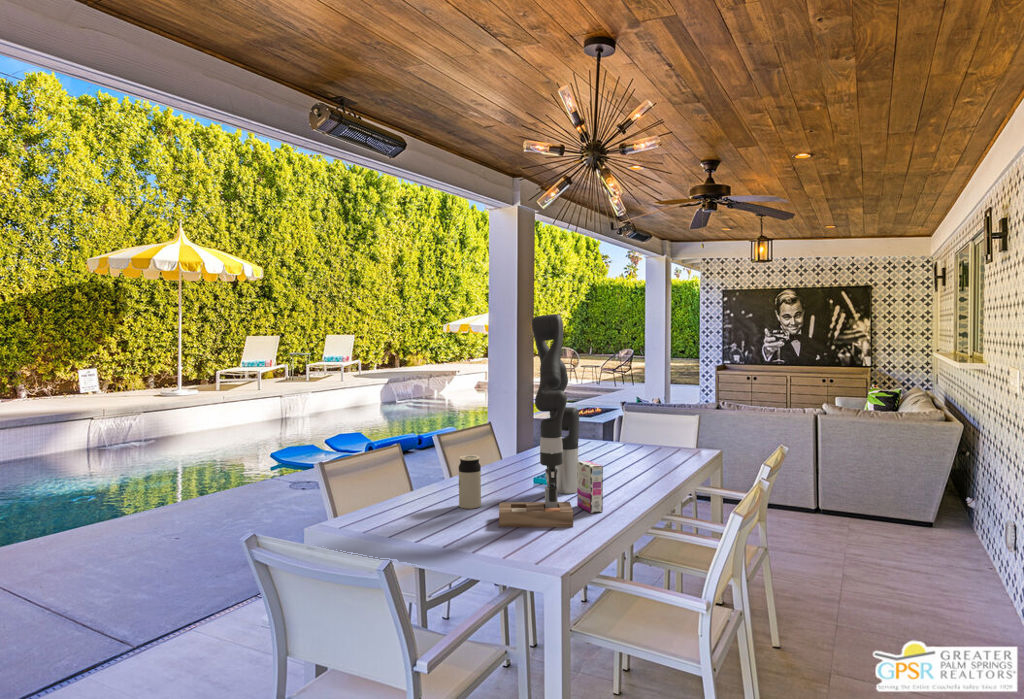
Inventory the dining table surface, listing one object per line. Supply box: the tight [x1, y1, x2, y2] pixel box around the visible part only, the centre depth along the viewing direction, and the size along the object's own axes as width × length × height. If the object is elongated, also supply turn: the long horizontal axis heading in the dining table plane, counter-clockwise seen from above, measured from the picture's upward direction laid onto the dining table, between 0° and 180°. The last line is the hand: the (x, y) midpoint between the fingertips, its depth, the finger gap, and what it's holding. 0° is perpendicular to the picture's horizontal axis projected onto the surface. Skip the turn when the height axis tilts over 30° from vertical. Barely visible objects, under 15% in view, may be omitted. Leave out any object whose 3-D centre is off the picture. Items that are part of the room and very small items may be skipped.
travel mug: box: [458, 454, 482, 510], centre depth 239 cm, size 8×8×18 cm
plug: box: [544, 486, 559, 508], centre depth 220 cm, size 4×4×10 cm
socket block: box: [498, 501, 574, 528], centre depth 219 cm, size 12×24×5 cm, turn 90°
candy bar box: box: [576, 460, 604, 514], centre depth 234 cm, size 11×5×16 cm, turn 21°
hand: (551, 498), depth 220 cm, fingers open, 8 cm apart
